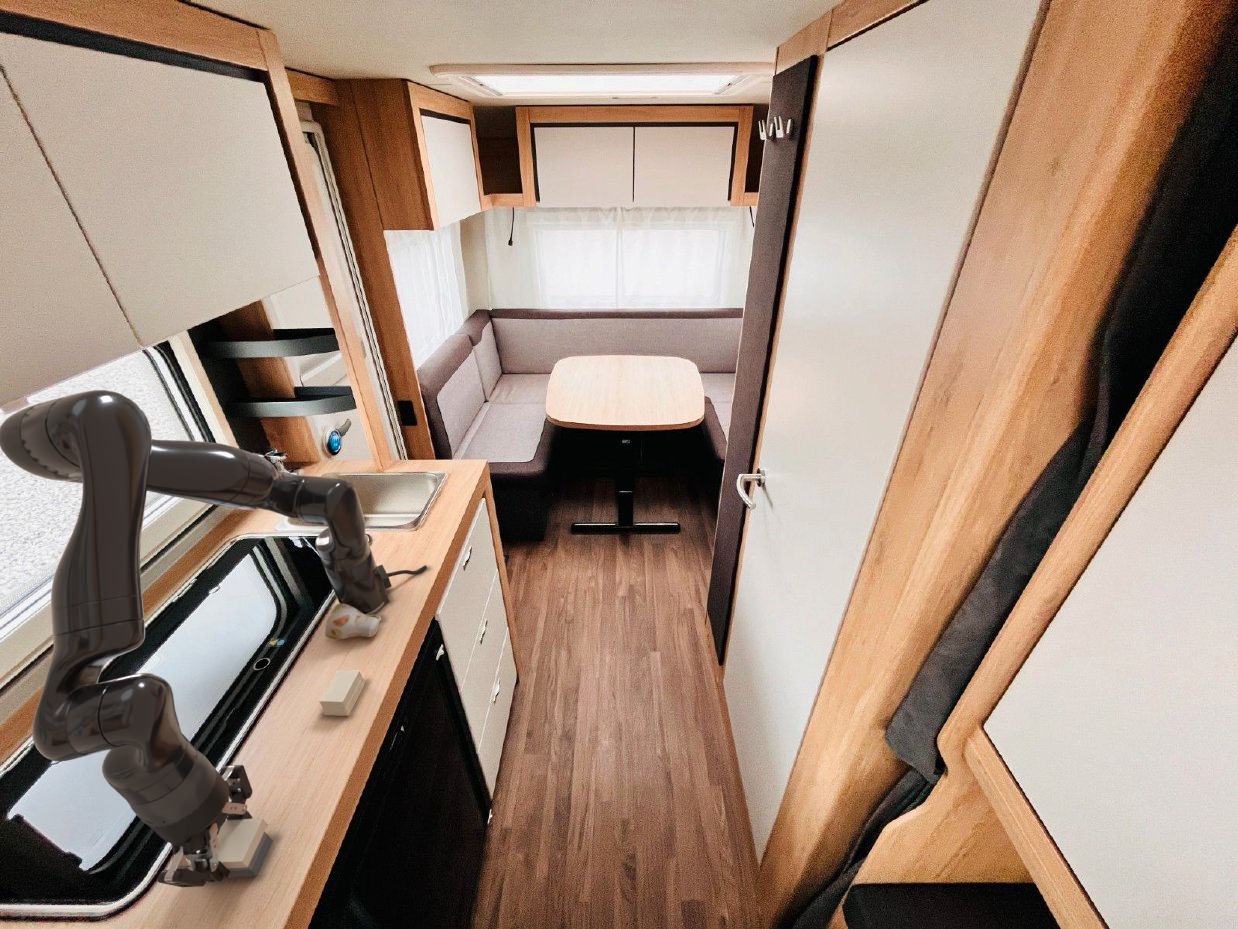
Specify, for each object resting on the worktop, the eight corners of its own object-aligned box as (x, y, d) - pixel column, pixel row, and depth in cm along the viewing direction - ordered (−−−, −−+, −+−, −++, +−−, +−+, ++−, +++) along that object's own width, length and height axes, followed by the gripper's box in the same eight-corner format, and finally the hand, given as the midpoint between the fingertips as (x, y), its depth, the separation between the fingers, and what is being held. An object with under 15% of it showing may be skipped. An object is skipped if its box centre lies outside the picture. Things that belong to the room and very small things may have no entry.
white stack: (343, 682, 98) (336, 669, 96) (365, 683, 98) (359, 670, 95) (325, 715, 92) (318, 702, 90) (348, 716, 92) (342, 703, 90)
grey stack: (208, 879, 72) (196, 867, 69) (227, 843, 75) (216, 830, 73) (256, 876, 72) (245, 864, 70) (273, 840, 76) (262, 828, 73)
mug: (378, 647, 105) (339, 626, 99) (347, 652, 109) (307, 633, 103) (392, 613, 110) (356, 591, 104) (362, 620, 114) (325, 599, 108)
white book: (190, 871, 69) (183, 864, 68) (214, 827, 74) (208, 821, 72) (247, 867, 69) (241, 861, 68) (268, 824, 74) (262, 818, 73)
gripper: (169, 858, 57) (231, 914, 66) (243, 733, 69) (286, 795, 78) (100, 862, 57) (172, 917, 66) (186, 736, 69) (236, 797, 78)
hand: (234, 850), depth 72 cm, fingers closed on white book, 5 cm apart
